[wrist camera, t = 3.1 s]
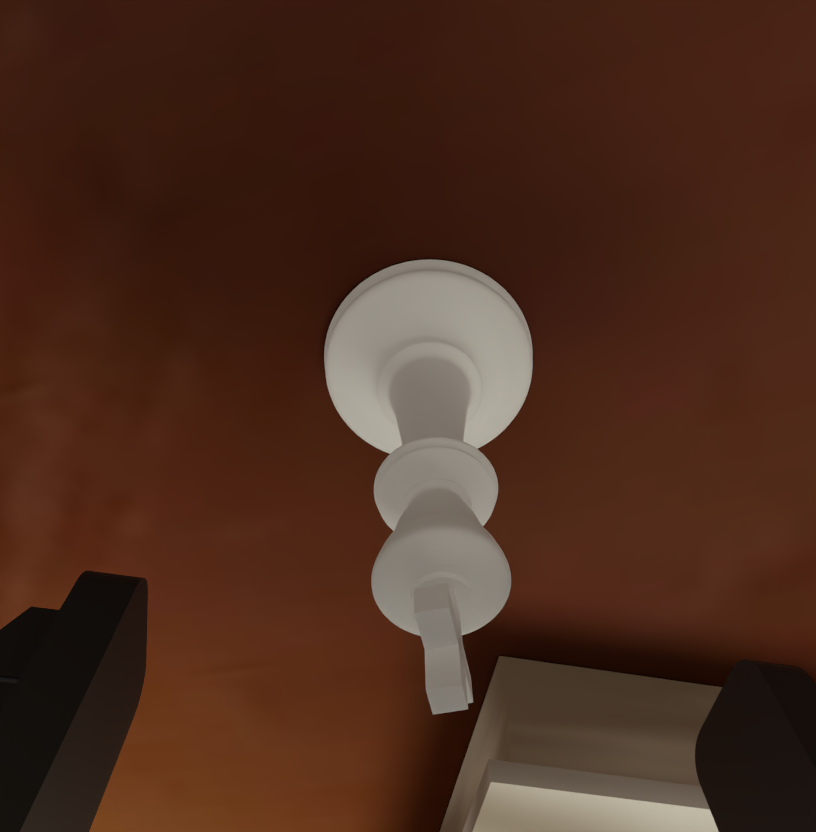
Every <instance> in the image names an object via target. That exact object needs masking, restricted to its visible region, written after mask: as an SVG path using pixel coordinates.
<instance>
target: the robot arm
mask: <svg viewBox="0 0 816 832" xmlns="http://www.w3.org/2000/svg"><path fill="white" fill-rule="evenodd" d="M147 601H148V586H147V581H146V579H145V578H139V577H131V576H124V575H116V574H109V573H101V572H94V571H85V572H83V573H82V574H81V575H80V577H79V578H78V580H77V581H76V583H75V585H74V586H73V588H72V590H71V591H70V593H69V595H68V597H67V598H66V600H65V602H64V603H63V605H62V607H61V608H60V610H54V609H46V608H38V607H30V608H29V609H27V610H26V611H25V612H23V613H22V614H21V615H19V616H18V617H17V618H15V619H14V620H13V621H11V622H10V623H9V624H7V625H6V626H5V627H3V628H2V629H1V630H0V832H89V830H90V828H91V825H92V823H93V820H94V817H95V815H96V812H97V810H98V807H99V805H100V802H101V800H102V797H103V794H104V792H105V789H106V787H107V784H108V782H109V779H110V776H111V774H112V771H113V769H114V766H115V764H116V761H117V759H118V756H119V753H120V751H121V748H122V746H123V743H124V741H125V738H126V735H127V733H128V730H129V728H130V725H131V723H132V720H133V717H134V715H135V712H136V709H137V706H138V703H139V699H140V695H141V691H142V687H143V682H144V676H145V669H146V644H147ZM695 766H696V772H697V776H698V780H699V783H700V785H701V788H702V791H703V793H704V796H705V798H706V801H707V803H708V806H709V808H710V811H711V813H712V816H713V818H714V821H715V824H716V826H717V829H718V831H719V832H816V685H815V684H814V682H813V681H812V679H811V678H810V676H809V675H808V674H807V673H806V672H805V671H804V670H803V669H801V668H800V667H797V666H790V665H783V664H775V663H768V662H760V661H753V660H741V661H739V662H737V663H736V664H735V665H734V667H733V668H732V670H731V672H730V674H729V676H728V677H727V679H726V681H725V683H724V685H723V687H722V689H721V691H720V693H719V695H718V697H717V699H716V701H715V702H714V704H713V706H712V708H711V710H710V712H709V714H708V716H707V718H706V720H705V722H704V724H703V725H702V727H701V729H700V731H699V734H698V737H697V740H696V746H695Z"/></svg>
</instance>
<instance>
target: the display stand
mask: <svg viewBox="0 0 816 832" xmlns="http://www.w3.org/2000/svg"><path fill="white" fill-rule="evenodd" d="M721 689H722V687H717V686H710V685H703V684H695V683H688V682H681V681H674V680H667V679H660V678H653V677H646V676H639V675H632V674H625V673H618V672H611V671H604V670H597V669H590V668H583V667H576V666H568V665H561V664H554V663H547V662H540V661H533V660H526V659H519V658H512V657H505V656H499V658H498V661H497V664H496V667H495V670H494V673H493V676H492V679H491V682H490V685H489V688H488V691H487V693H486V696H485V699H484V702H483V705H482V708H481V711H480V714H479V717H478V720H477V723H476V726H475V729H474V732H473V735H472V738H471V741H470V743H469V746H468V749H467V752H466V755H465V758H464V761H463V764H462V767H461V770H460V773H459V776H458V779H457V782H456V785H455V788H454V791H453V793H452V796H451V799H450V802H449V805H448V808H447V811H446V814H445V817H444V820H443V823H442V826H441V829H440V832H719V831H718V829H717V826H716V824H715V821H714V818H713V816H712V813H711V811H710V808H709V806H708V803H707V801H706V798H705V796H704V793H703V791H702V788H701V785H700V783H699V780H698V776H697V772H696V766H695V746H696V740H697V737H698V734H699V731H700V729H701V727H702V725H703V724H704V722H705V720H706V718H707V716H708V714H709V712H710V710H711V708H712V706H713V704H714V702H715V701H716V699H717V697H718V695H719V693H720V691H721Z"/></svg>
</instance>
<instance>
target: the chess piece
mask: <svg viewBox="0 0 816 832" xmlns="http://www.w3.org/2000/svg"><path fill="white" fill-rule="evenodd" d="M532 357H533V352H532V341H531V335H530V331H529V328H528V325H527V322H526V320H525V317H524V315H523V313H522V311H521V310H520V308H519V306H518V305H517V303H516V302H515V300H514V299H513V298H512V297H511V295H510V294H509V293H508V292H507V291H506V290H505V289H504V288H503V287H502V286H501V285H499V284H498V283H497V282H496V281H494V280H493V279H492V278H490V277H489V276H487V275H485V274H484V273H482V272H480V271H478V270H476V269H474V268H471V267H469V266H466V265H463V264H459V263H455V262H451V261H445V260H432V259H427V260H414V261H408V262H404V263H400V264H396V265H393V266H390V267H388V268H385V269H383V270H381V271H379V272H377V273H375V274H373V275H372V276H370V277H369V278H367V279H366V280H364V281H363V282H362V283H360V284H359V285H358V286H357V287H356V288H354V289H353V290H352V291H351V292H350V293H349V295H348V296H347V297H346V298H345V299H344V301H343V302H342V303H341V305H340V306H339V308H338V309H337V311H336V313H335V315H334V317H333V319H332V321H331V323H330V326H329V329H328V332H327V336H326V341H325V348H324V365H325V375H326V382H327V387H328V390H329V394H330V396H331V399H332V401H333V404H334V406H335V408H336V409H337V411H338V413H339V414H340V416H341V417H342V419H343V420H344V421H345V423H346V424H347V425H348V426H349V427H350V428H351V429H352V430H353V431H354V432H355V433H356V434H357V435H358V436H359V437H361V438H362V439H363V440H364V441H366V442H367V443H369V444H371V445H372V446H374V447H376V448H378V449H380V450H382V451H384V452H386V453H389V454H390V455H389V456H388V457H387V458H386V459H385V460H384V461H383V463H382V464H381V466H380V468H379V470H378V472H377V474H376V477H375V482H374V498H375V502H376V505H377V508H378V510H379V512H380V514H381V516H382V518H383V519H384V521H385V522H386V524H387V525H388V526H389V527H390V528H391V529H392V530H393V533H392V534H391V535H390V536H389V537H388V539H387V540H386V542H385V543H384V545H383V547H382V549H381V550H380V552H379V554H378V556H377V559H376V561H375V564H374V567H373V571H372V578H371V586H372V592H373V596H374V599H375V601H376V603H377V605H378V607H379V609H380V610H381V611H382V613H383V614H384V615H385V616H386V617H387V618H388V619H389V620H390V621H391V622H392V623H394V624H395V625H397V626H398V627H400V628H401V629H403V630H405V631H408V632H410V633H413V634H416V635H419V636H421V639H422V642H423V646H424V650H425V685H426V693H427V696H428V700H429V703H430V706H431V710H432V713H433V715H434V714H441V713H447V712H454V711H461V710H467V709H468V703H473V694H472V683H471V675H470V671H469V667H468V663H467V659H466V655H465V651H464V647H463V642H462V635H465V634H468V633H471V632H473V631H475V630H477V629H479V628H481V627H483V626H484V625H486V624H487V623H489V622H490V621H491V620H492V619H493V618H494V617H495V616H496V615H497V614H498V613H499V612H500V611H501V609H502V608H503V606H504V605H505V603H506V601H507V599H508V596H509V593H510V588H511V572H510V568H509V564H508V561H507V559H506V557H505V555H504V553H503V551H502V550H501V548H500V546H499V545H498V544H497V542H496V541H495V539H494V538H493V537H492V535H491V534H490V533H489V532H488V531H487V530H486V529H485V528H484V527H483V526H484V525H485V523H486V522H487V521H488V519H489V518H490V516H491V514H492V512H493V509H494V506H495V503H496V500H497V496H498V480H497V476H496V473H495V470H494V468H493V466H492V465H491V463H490V461H489V460H488V459H487V458H486V457H485V455H484V454H483V453H481V452H480V451H479V450H478V448H480V447H482V446H483V445H485V444H487V443H488V442H490V441H491V440H493V439H494V438H495V437H497V436H498V435H499V434H500V433H501V432H502V431H503V430H504V429H505V428H506V427H507V426H508V425H509V424H510V423H511V422H512V421H513V419H514V418H515V417H516V415H517V414H518V412H519V410H520V409H521V407H522V405H523V403H524V401H525V399H526V396H527V393H528V390H529V387H530V383H531V378H532V368H533V360H532Z"/></svg>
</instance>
